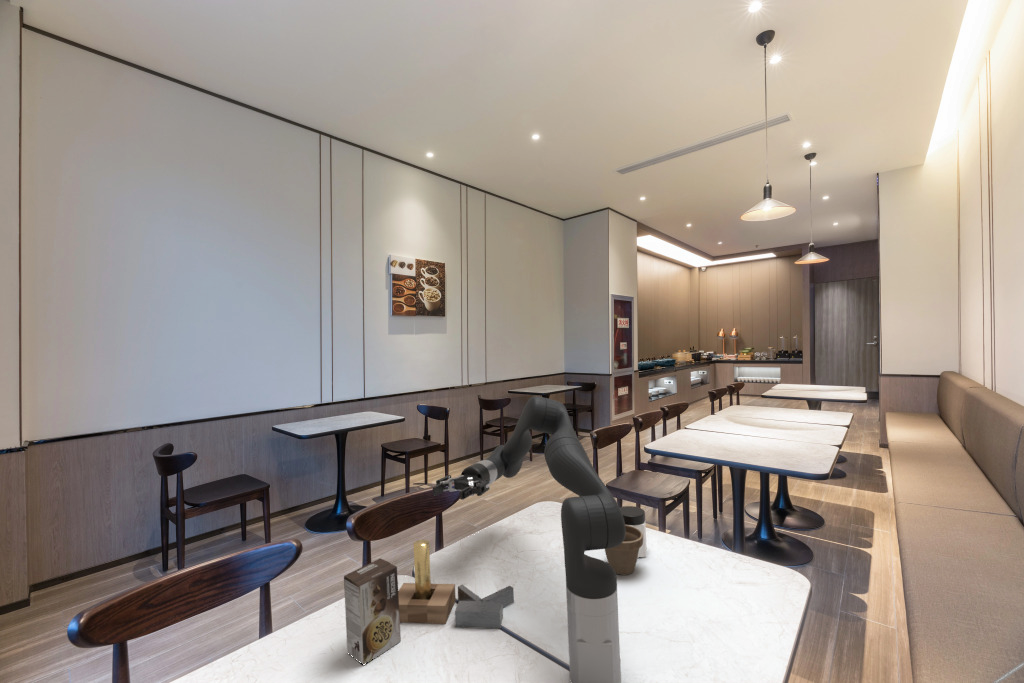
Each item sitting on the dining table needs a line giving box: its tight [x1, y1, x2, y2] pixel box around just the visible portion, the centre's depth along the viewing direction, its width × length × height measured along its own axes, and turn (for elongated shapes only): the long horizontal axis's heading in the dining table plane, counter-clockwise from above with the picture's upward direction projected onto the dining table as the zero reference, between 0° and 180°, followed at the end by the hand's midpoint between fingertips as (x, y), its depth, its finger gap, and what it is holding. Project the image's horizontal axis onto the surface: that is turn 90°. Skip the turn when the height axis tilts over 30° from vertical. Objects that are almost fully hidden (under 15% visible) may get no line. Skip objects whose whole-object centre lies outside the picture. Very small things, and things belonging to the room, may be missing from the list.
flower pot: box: [604, 525, 643, 576], centre depth 119 cm, size 12×11×10 cm
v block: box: [454, 584, 515, 630], centre depth 103 cm, size 11×14×4 cm
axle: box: [413, 539, 432, 600], centre depth 104 cm, size 4×4×16 cm
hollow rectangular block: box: [398, 582, 457, 625], centre depth 104 cm, size 9×13×4 cm
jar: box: [619, 505, 648, 559], centre depth 129 cm, size 9×8×12 cm
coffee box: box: [343, 558, 402, 664], centre depth 92 cm, size 9×6×16 cm
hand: (447, 493), depth 114 cm, fingers open, 8 cm apart
